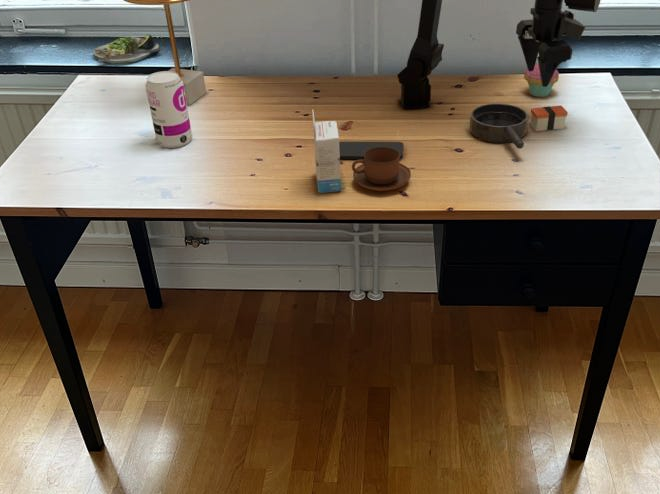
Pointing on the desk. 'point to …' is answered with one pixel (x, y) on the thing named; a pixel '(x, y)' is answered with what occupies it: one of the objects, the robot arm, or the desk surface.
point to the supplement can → (168, 109)
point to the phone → (365, 148)
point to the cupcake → (539, 82)
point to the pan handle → (514, 137)
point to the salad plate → (127, 50)
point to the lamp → (190, 78)
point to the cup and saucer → (381, 170)
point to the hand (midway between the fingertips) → (537, 78)
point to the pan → (497, 122)
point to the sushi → (548, 118)
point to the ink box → (327, 156)
